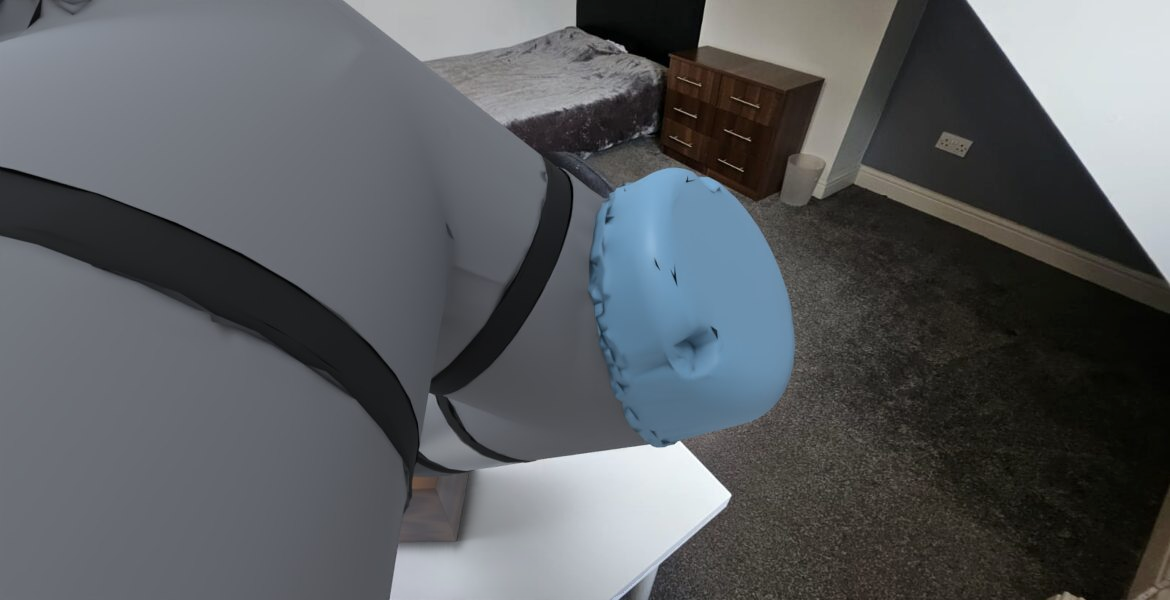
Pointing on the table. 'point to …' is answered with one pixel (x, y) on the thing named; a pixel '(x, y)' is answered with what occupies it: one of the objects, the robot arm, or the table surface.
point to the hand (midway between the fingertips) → (333, 443)
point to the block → (434, 509)
